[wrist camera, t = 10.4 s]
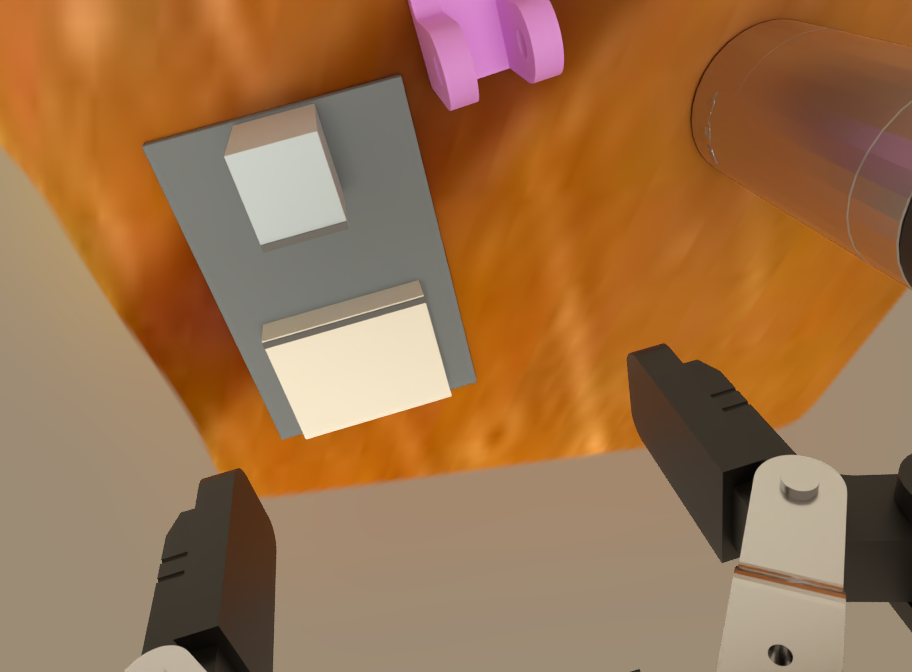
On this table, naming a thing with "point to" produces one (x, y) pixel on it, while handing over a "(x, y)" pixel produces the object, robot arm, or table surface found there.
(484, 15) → the bracket
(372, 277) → the pad
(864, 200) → the robot arm
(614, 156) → the table surface
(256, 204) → the stub
